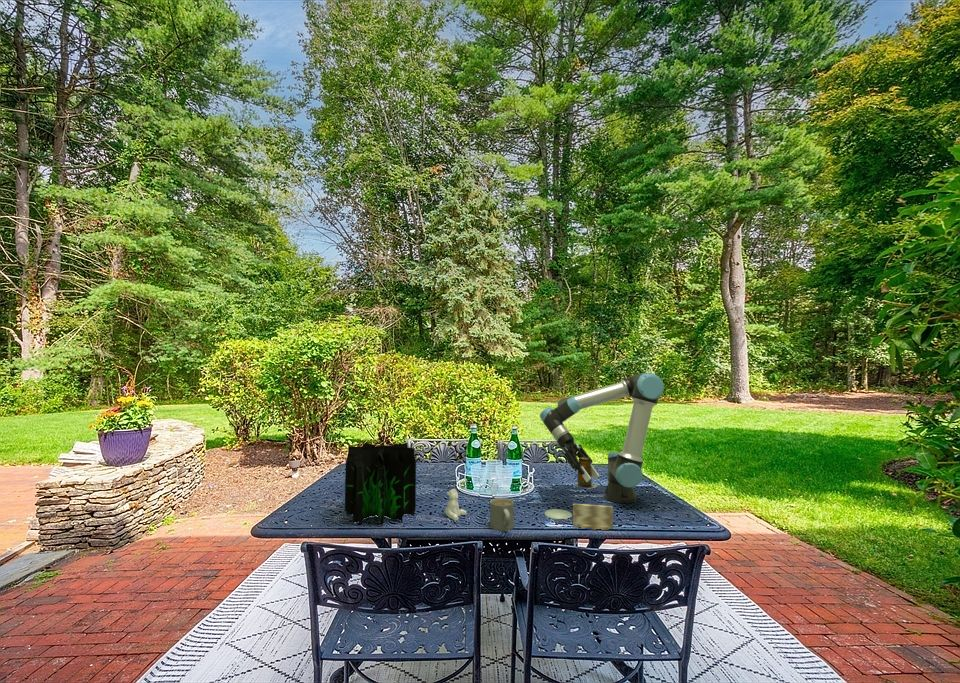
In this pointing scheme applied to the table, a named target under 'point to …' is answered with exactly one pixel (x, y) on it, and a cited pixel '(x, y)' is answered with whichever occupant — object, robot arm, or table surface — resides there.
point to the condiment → (587, 466)
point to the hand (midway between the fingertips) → (593, 479)
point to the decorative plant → (380, 481)
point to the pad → (558, 514)
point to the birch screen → (593, 516)
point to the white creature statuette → (454, 506)
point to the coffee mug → (501, 514)
